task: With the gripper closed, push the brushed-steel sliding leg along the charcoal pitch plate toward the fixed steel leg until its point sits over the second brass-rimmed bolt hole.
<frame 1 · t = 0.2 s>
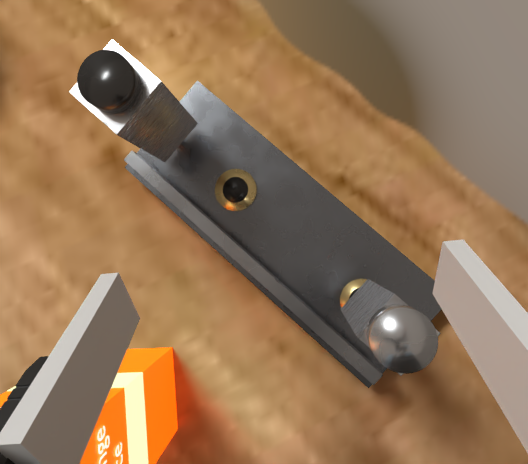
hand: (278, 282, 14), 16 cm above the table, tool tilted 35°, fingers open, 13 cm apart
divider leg: (143, 111, 23), point 8 cm above the table, slide at 0.0 cm
orange juice: (131, 388, 32), on the table
pitch plate: (280, 229, 30), on the table
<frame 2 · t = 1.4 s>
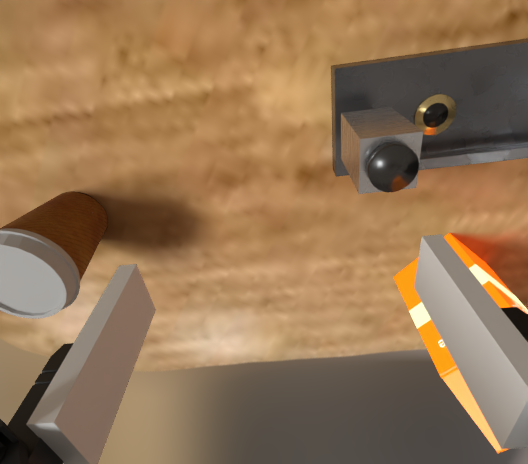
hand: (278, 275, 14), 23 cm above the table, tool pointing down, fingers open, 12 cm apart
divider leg: (374, 146, 26), point 8 cm above the table, slide at 0.0 cm
orange juice: (438, 269, 43), on the table
disposable coffee cup: (81, 214, 40), on the table
pitch plate: (480, 103, 32), on the table
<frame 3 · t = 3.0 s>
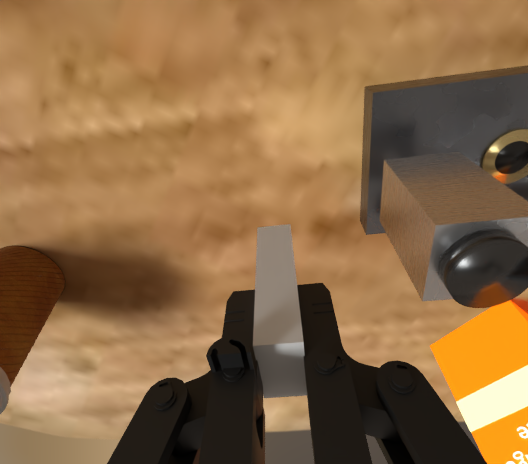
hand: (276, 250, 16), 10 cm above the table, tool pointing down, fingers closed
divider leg: (440, 216, 17), point 8 cm above the table, slide at 0.0 cm
orange juice: (487, 337, 34), on the table
disposable coffee cup: (30, 272, 30), on the table
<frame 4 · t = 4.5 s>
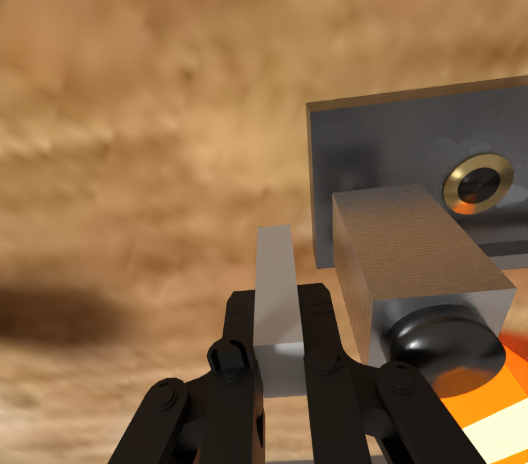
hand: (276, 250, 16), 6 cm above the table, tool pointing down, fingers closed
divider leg: (395, 266, 14), point 8 cm above the table, slide at 0.6 cm, touching gripper
orange juice: (462, 369, 31), on the table
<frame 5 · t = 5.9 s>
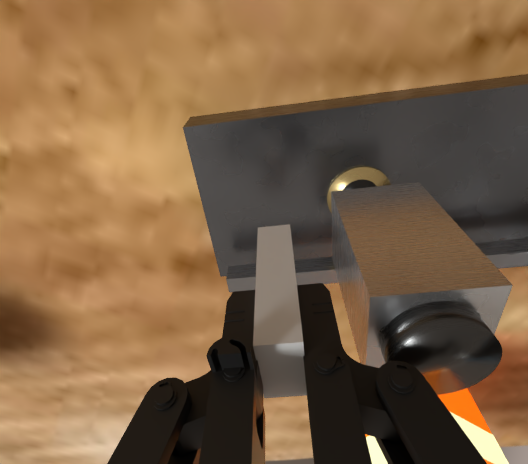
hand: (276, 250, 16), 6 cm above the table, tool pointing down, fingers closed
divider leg: (393, 264, 14), point 8 cm above the table, slide at 7.0 cm, touching gripper
orange juice: (392, 372, 32), on the table
pitch plate: (433, 172, 20), on the table
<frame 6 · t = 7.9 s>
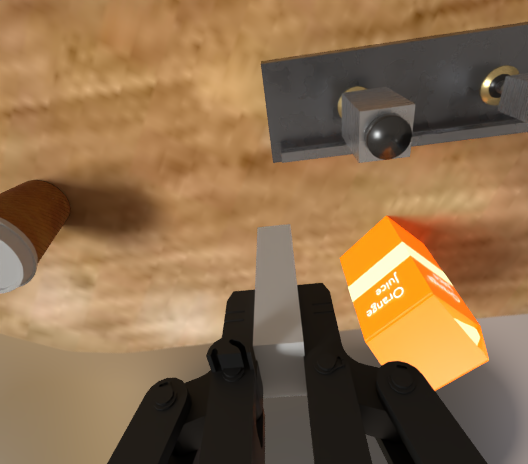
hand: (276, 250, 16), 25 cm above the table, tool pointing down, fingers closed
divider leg: (372, 121, 29), point 8 cm above the table, slide at 7.0 cm
orange juice: (380, 250, 47), on the table
disposable coffee cup: (45, 202, 43), on the table
pitch plate: (399, 94, 35), on the table
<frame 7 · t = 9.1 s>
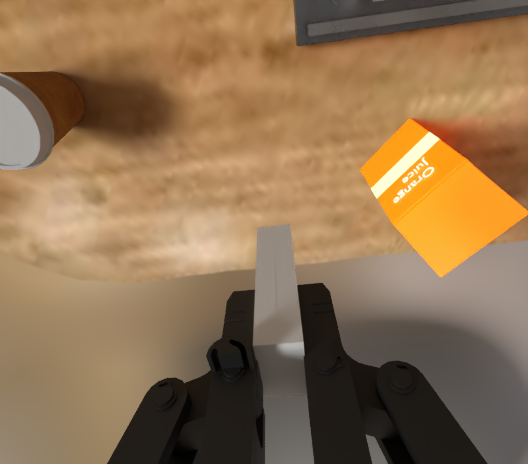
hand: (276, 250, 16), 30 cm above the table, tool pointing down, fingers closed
orange juice: (402, 160, 45), on the table
disposable coffee cup: (59, 99, 41), on the table
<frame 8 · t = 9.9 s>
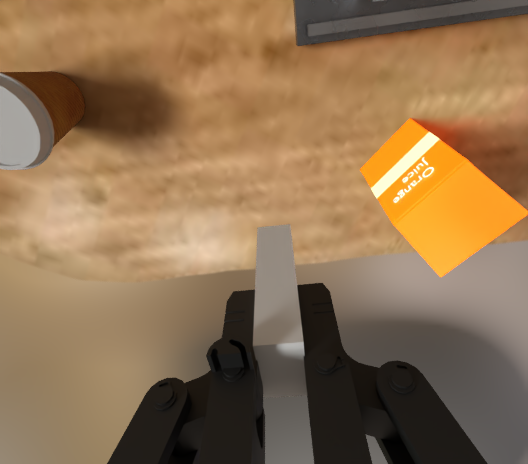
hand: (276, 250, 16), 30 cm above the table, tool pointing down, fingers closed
orange juice: (402, 160, 45), on the table
disposable coffee cup: (59, 99, 41), on the table
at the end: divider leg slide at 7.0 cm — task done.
